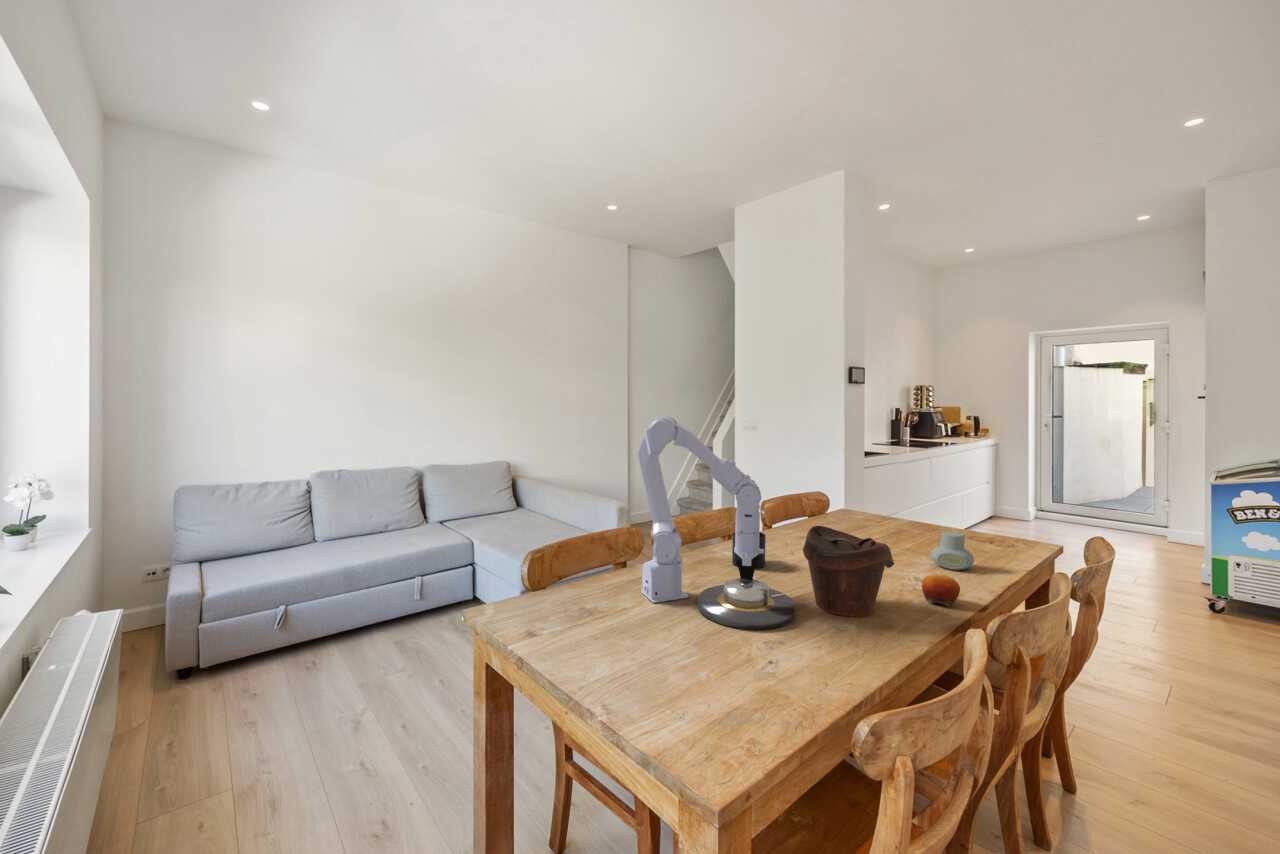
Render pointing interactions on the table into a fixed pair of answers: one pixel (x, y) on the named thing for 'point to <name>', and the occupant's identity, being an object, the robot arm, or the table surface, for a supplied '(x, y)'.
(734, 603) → the cover
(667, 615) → the table surface
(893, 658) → the table surface
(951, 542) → the air freshener
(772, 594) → the turntable
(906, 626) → the table surface
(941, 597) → the fruit
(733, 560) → the black cylindrical cup
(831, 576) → the case
